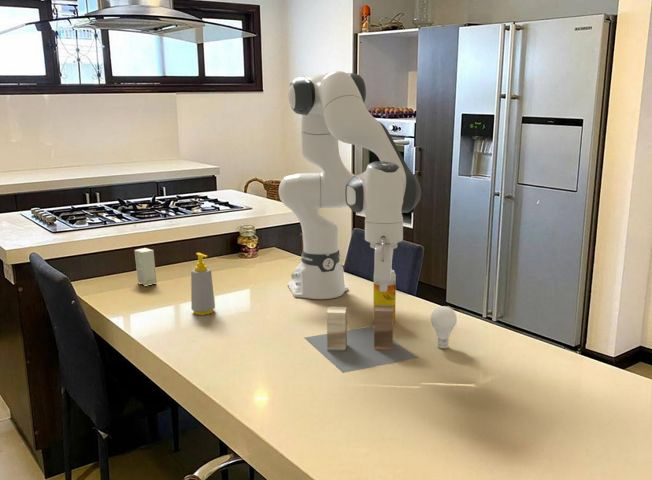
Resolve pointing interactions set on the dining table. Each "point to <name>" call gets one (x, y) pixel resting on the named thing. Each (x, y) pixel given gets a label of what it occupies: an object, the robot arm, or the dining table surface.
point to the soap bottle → (202, 288)
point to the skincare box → (145, 266)
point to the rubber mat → (360, 351)
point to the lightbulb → (443, 324)
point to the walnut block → (383, 327)
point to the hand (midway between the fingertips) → (383, 290)
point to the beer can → (385, 294)
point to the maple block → (337, 329)
